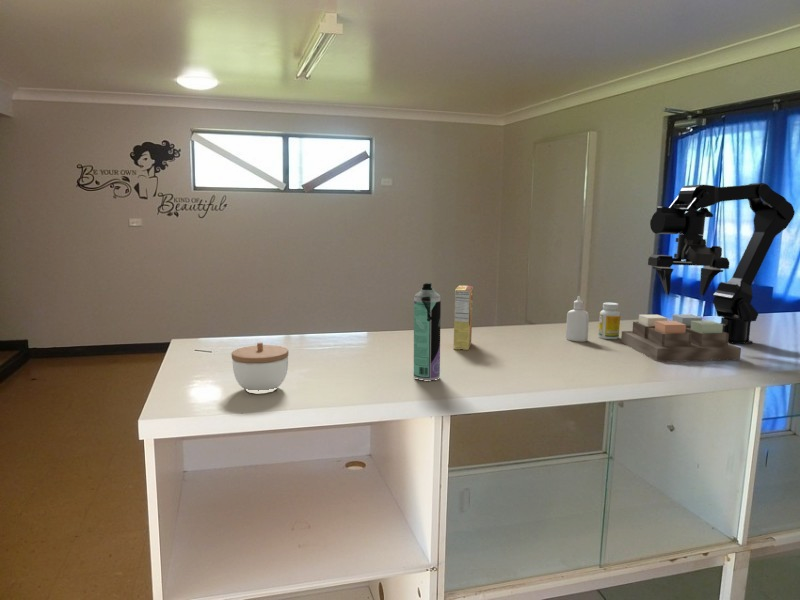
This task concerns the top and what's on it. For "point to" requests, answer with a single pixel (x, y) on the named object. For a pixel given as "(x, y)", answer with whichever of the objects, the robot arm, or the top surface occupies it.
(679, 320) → the cap slate
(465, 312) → the candy box
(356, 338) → the top surface
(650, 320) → the cap cream
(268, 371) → the lidded jar
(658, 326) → the cap terracotta
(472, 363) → the top surface
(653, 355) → the stepped wooden stand
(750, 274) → the robot arm
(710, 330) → the cap sage
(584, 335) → the eye dropper bottle
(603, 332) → the supplement bottle
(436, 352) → the spray can
